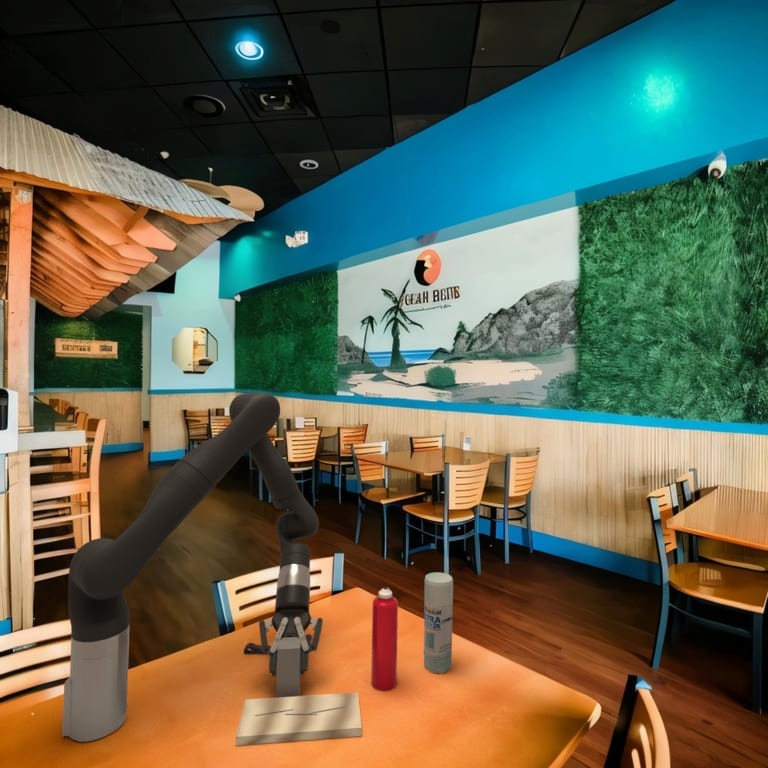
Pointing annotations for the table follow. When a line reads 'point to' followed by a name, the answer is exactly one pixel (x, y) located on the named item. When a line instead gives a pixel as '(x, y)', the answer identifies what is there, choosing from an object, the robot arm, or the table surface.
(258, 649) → the squeegee
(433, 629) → the spray paint can
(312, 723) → the board
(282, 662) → the block
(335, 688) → the table surface
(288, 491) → the robot arm
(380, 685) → the bottle
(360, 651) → the table surface
